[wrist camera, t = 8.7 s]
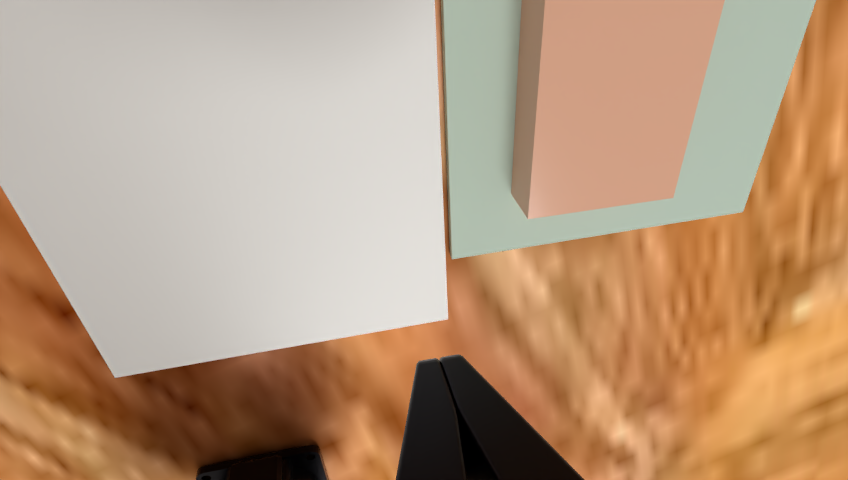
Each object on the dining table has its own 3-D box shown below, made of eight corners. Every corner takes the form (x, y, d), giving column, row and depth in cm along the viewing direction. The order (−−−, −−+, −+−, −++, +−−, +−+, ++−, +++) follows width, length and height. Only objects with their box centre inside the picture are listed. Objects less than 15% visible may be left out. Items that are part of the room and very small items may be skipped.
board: (427, 257, 23) (448, 319, 20) (143, 303, 22) (115, 377, 18) (399, -176, 14) (426, -191, 11) (-77, -147, 13) (-203, -156, 10)
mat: (737, 207, 25) (742, 212, 25) (449, 253, 23) (451, 259, 23) (875, -204, 16) (886, -206, 16) (434, -178, 15) (437, -179, 14)
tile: (527, 219, 20) (511, 193, 22) (673, 197, 21) (646, 174, 22) (549, -49, 15) (524, -56, 16) (741, -65, 16) (700, -71, 17)
